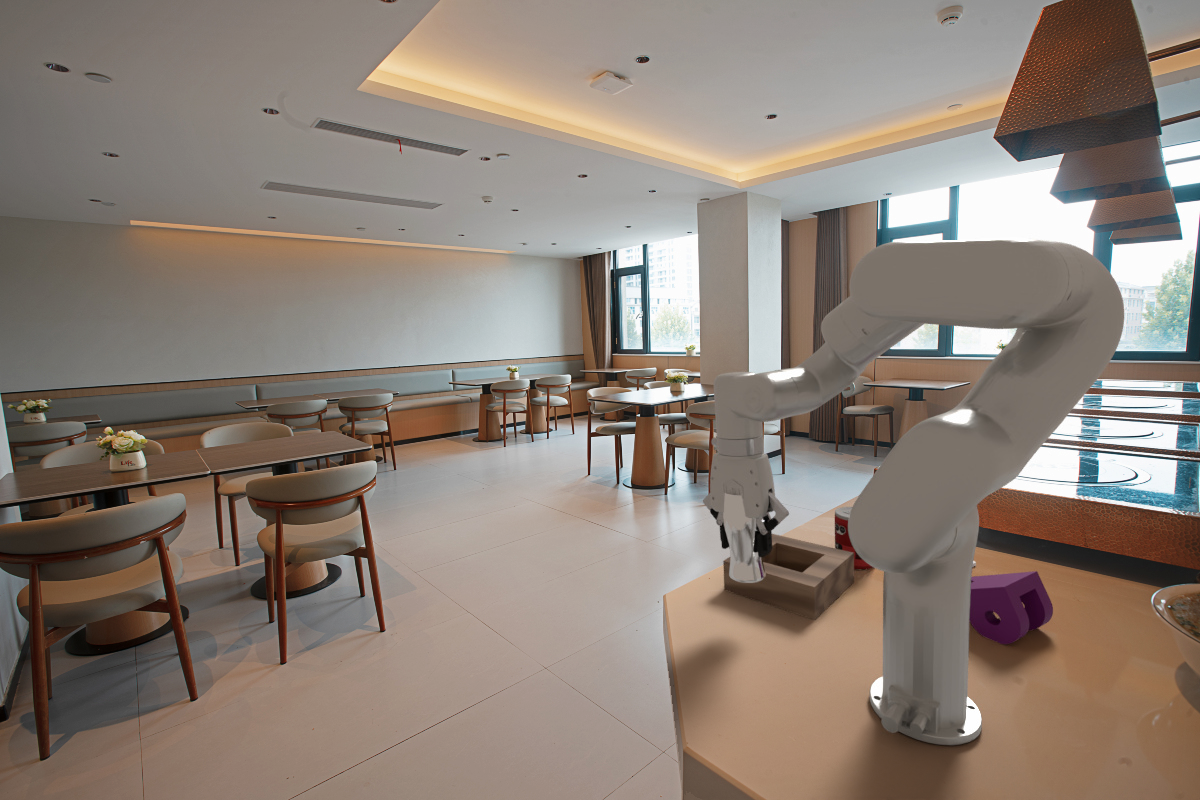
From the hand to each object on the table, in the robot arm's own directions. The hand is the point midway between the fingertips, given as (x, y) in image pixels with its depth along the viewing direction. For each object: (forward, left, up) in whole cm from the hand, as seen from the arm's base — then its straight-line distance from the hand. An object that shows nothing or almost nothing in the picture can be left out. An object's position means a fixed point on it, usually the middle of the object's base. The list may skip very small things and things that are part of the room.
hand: (746, 549), depth 93 cm
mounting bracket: (+25, -28, -14) cm, 40 cm away
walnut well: (+17, +1, -14) cm, 22 cm away
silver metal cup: (0, 0, -5) cm, 5 cm away
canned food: (+35, -5, -14) cm, 38 cm away
